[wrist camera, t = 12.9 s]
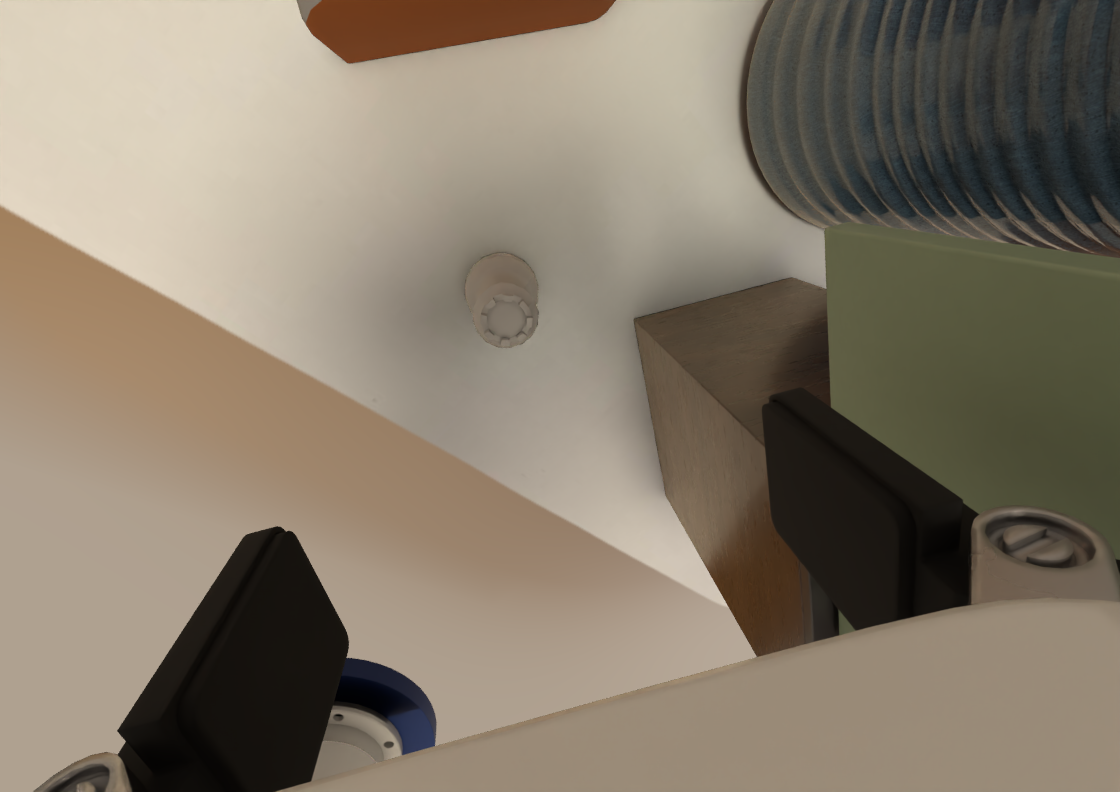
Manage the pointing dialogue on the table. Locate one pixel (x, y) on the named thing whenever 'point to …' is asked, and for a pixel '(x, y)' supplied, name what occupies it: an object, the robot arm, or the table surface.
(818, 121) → the vase
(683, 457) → the cabinet
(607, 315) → the table surface
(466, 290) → the rook chess piece
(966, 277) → the door
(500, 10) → the alarm clock
